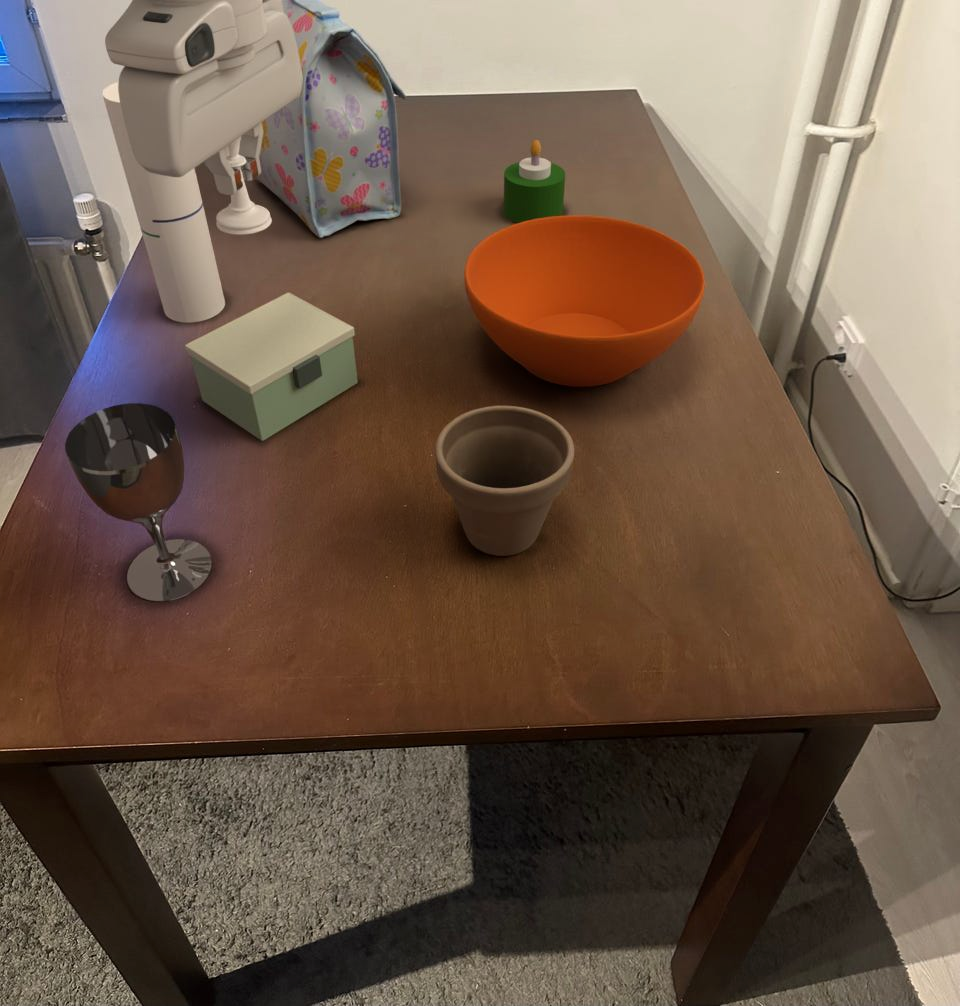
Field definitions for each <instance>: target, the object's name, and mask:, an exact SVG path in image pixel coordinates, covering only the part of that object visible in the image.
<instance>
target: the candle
mask: <svg viewBox="0 0 960 1006" xmlns="http://www.w3.org/2000/svg"><path fill="white" fill-rule="evenodd" d="M541 145H542V144H541V143H540V140H538V139H534V140H533V141H532V143H531V145H530V150H529V151H530V157H526V158H523V159H521V160H520V161H518V162H515V163H512V164H510V165H509V166H507V167H506V168H505V169H504V172H503V215H504V217H506V219H508V220H509V221H511V222H513V223H515V224H517V223H521V222H525V221H529V220H533V219H538V218H545V217H553V216H563V213H564V201H565V186H566V171H565V170H564V169H563V167H562V166H559V165H558V164H555V163H553V162H551V161H550V160H548V159H546V158H543V157H540V155H541V151H542V146H541Z"/></svg>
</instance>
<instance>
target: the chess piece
mask: <svg viewBox="0 0 960 1006" xmlns="http://www.w3.org/2000/svg"><path fill="white" fill-rule="evenodd" d="M240 140H241V137H239V138H238V139H236V140H235V141H233V142H232V143H230V144H229V145H228V146H229V151H230V156H228V157H226V159H227V160H228V162H229V164H230V165H231V167H232V169H238V170H240V172H241V181H242V183H243V187H242V188H241V189H240V190H239V191H237V192H236V193H235V194H233V195H230V203H228V205H227V207H224V208H223V209H221V210H219V212H218V213H217V214H216V216H215V220H216V223H215V224H216V227H217V229H218V231H220V232H223V233H225V234H229V235H236V236H237V235H238V236H240V235H241V236H243V235H251V234H256V233H260V232H261V231H262V232H263V231H265V230H266V229H268V228H269V227H270V226H271V224H272V222H273V220H272V217H271V213H270V211H269V210H268V208H266V207H264V206H262V205H259V204H256V203H255V202H254V201H252V200H251V199H250V196H249V192H248V189H247V186H246V182H245V180H244V179H243V175H242V171H241V168H240V166H243V165H244V164H246V159H245V157H243V156H241V155H239V154H238V153H239V148H240Z"/></svg>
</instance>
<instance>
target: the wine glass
mask: <svg viewBox="0 0 960 1006" xmlns="http://www.w3.org/2000/svg"><path fill="white" fill-rule="evenodd" d="M64 451H65V453H66V458H67V459H68V461H69V464H70V467H71V469H72V471H73V473H74V474H75V477H76V479H77V481H78V483H79V484H80V486H81V487H82V488H83V491H85V493H86V495H87V496H88V497H89V498H90V499H91V501H92V502H93V503H94V504H95V505H96V506H97V507H98V508H99V509H100V510H101V511H103V512H104V513H105V514H106V515H108V516H110V517H112V518H115V519H118V520H121V521H125V522H131V523H136V524H139V525H140V526H142V527H143V528H144V529H145V530H146V531H147V533H148V534H149V536H150V538H151V539H152V541H153V543H154V544H153V545H151V546H149V547H148V548H146V549H145V550H142V551H141V552H140V553H139V554H138V555H137V556H136V557H135V558H134V559H133V560H132V562H131V564H130V565H129V567H128V570H127V575H126V583H127V585H128V588H129V590H130V591H131V592H132V593H133V594H134V595H135V596H137V597H138V598H140V599H142V600H145V601H148V602H154V603H157V602H159V603H160V602H161V603H164V602H171V601H176V600H178V599H181V598H183V597H186V596H188V595H190V594H191V593H194V592H195V591H196V590H197V589H199V588H200V587H201V586H202V585H203V584H204V583H205V582H206V581H207V579H208V578H209V576H210V574H211V572H212V568H213V559H212V556H211V553H210V551H209V550H208V549H207V548H206V547H205V546H204V545H202V544H200V543H199V542H196V541H194V540H190V539H184V538H183V539H182V538H181V539H180V538H177V539H176V538H175V539H168V540H165V535H164V530H163V529H164V528H163V519H164V517H165V514H166V513H167V512H168V511H169V510H170V509H171V508H172V507H173V506H174V504H175V503H176V501H178V498H179V497H180V495H181V493H182V490H183V488H184V482H185V461H184V460H185V459H184V458H185V457H184V451H183V446H182V441H181V438H180V434H179V431H178V428H177V425H176V423H175V420H174V418H173V416H172V415H171V414H170V413H169V412H168V411H166V410H165V409H163V408H161V407H159V406H157V405H153V404H149V403H142V402H131V403H130V402H129V403H121V404H115V405H111V406H107V407H105V408H102V409H100V410H98V411H95V412H93V413H91V414H89V415H87V416H86V417H85V418H83V419H82V420H80V421H79V422H78V423H77V424H76V425H75V426H73V428H71V430H70V431H69V433H68V435H67V437H66V439H65V443H64Z"/></svg>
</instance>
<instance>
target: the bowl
mask: <svg viewBox="0 0 960 1006" xmlns="http://www.w3.org/2000/svg"><path fill="white" fill-rule="evenodd" d="M463 276H464V277H463V279H464V280H463V282H464V287H465V292H466V296H467V299H468V302H469V304H470V307H471V309H472V311H473V313H474V316H475V317H476V319H477V321H478V323H479V324H480V325H481V327H482V329H483V331H485V333H486V334H487V336H488V337H489V338H490V339H491V340H492V341H493V343H495V344H496V345H497V346H498V347H499V349H500V350H501V351H503V352H504V353H505V355H508V357H510V358H511V359H512V360H514V361H515V362H516V363H518V364H519V365H521V366H522V367H524V369H526V371H528V372H529V373H530V374H531V375H534V376H535V377H537V378H539V379H541V380H544V381H547V382H550V383H553V384H556V385H559V386H560V385H561V386H567V387H577V388H585V387H586V388H589V387H597V386H602V385H607V384H610V383H613V382H615V381H618V380H620V379H622V378H624V377H625V376H628V374H630V373H632V372H634V371H636V370H638V369H640V368H643V367H644V366H646V365H647V364H649V363H650V362H652V361H654V360H656V358H658V357H659V356H661V355H662V354H663V353H664V352H665V351H667V350H668V349H669V348H670V347H671V346H672V345H674V343H675V342H676V341H678V340H679V339H680V338H681V336H682V335H683V334H684V332H685V331H686V330H687V329H688V328H689V326H690V324H691V323H692V321H693V320H694V318H695V316H696V314H697V312H698V310H699V308H700V306H701V305H702V301H703V298H704V294H705V289H706V279H705V273H704V271H703V268H702V266H701V264H700V262H699V260H698V259H697V258H696V257H695V255H693V253H691V251H689V249H688V248H687V247H685V245H683V244H682V243H680V242H679V241H677V240H675V239H674V238H672V237H670V236H669V235H666V234H665V233H663V232H661V231H658V230H656V229H653V228H651V227H648V226H646V225H643V224H640V223H639V224H638V223H635V222H632V221H628V220H624V219H617V218H613V217H607V216H597V215H596V216H595V215H583V214H582V215H581V214H580V215H579V214H578V215H572V214H571V215H562V216H553V217H545V218H538V219H533V220H529V221H525V222H521V223H515V224H511V225H509V226H507V227H504V228H501V229H499V230H498V231H495V232H493V233H491V234H490V235H488V236H487V237H485V238H484V239H483V240H482V241H480V242H479V243H478V244H477V245H476V246H475V248H473V250H472V251H471V252H470V253H469V256H468V258H467V260H466V263H465V267H464V271H463Z"/></svg>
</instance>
